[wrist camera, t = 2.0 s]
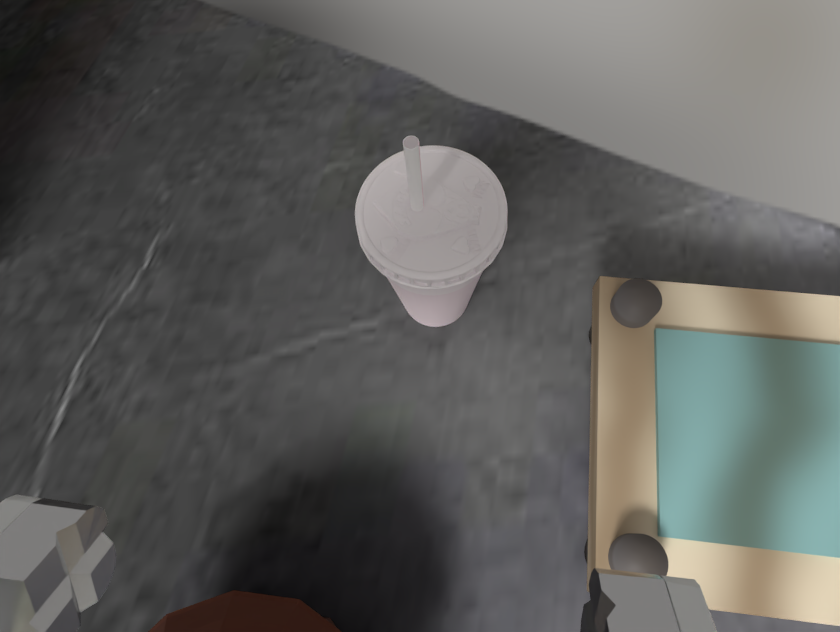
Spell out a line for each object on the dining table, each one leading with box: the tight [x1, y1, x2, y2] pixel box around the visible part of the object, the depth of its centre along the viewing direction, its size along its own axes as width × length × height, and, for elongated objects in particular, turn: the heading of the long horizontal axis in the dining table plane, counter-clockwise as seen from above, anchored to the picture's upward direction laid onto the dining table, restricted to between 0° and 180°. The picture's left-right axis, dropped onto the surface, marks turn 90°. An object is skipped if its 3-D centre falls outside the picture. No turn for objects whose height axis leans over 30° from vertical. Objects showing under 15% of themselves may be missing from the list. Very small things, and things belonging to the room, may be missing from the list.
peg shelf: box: [584, 276, 840, 626], centre depth 27 cm, size 14×14×6 cm
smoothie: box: [355, 136, 508, 327], centre depth 27 cm, size 6×6×14 cm
